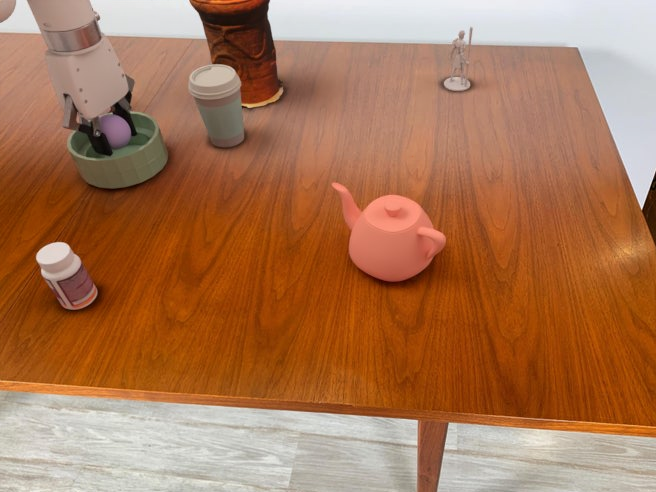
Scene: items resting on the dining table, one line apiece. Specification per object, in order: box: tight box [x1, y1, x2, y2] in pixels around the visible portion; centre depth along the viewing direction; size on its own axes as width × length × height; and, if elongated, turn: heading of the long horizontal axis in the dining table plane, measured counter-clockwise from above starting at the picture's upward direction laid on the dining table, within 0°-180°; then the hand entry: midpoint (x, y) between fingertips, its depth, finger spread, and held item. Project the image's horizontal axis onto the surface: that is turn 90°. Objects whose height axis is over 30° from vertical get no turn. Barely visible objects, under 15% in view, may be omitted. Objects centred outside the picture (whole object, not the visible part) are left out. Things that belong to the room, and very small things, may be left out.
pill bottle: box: [35, 241, 98, 311], centre depth 75 cm, size 5×5×8 cm
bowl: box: [66, 111, 169, 189], centre depth 96 cm, size 14×14×6 cm
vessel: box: [188, 0, 284, 109], centre depth 107 cm, size 14×14×20 cm
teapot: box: [331, 182, 447, 283], centre depth 80 cm, size 12×18×10 cm
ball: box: [99, 113, 131, 150], centre depth 94 cm, size 6×6×6 cm
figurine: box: [443, 26, 474, 92], centre depth 111 cm, size 5×5×12 cm
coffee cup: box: [188, 64, 245, 148], centre depth 99 cm, size 9×8×12 cm
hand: (116, 142), depth 95 cm, fingers closed on ball, 5 cm apart
